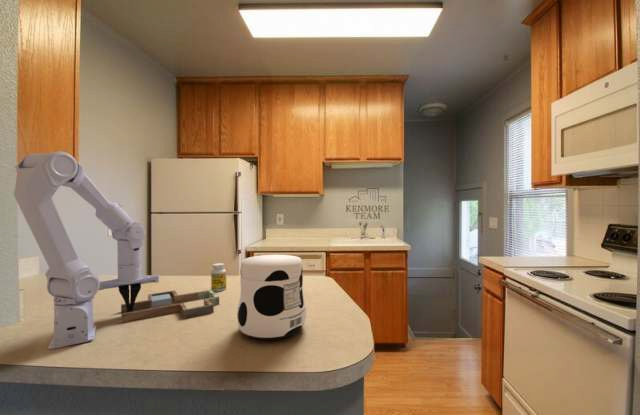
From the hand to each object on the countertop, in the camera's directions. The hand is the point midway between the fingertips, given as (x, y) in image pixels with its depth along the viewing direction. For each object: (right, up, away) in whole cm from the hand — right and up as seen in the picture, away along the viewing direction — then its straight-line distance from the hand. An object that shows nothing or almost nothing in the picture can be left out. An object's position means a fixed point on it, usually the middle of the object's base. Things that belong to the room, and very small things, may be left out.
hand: (130, 310), depth 85 cm
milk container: (+43, -2, -10) cm, 44 cm away
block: (+6, -2, +4) cm, 8 cm away
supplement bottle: (+17, -1, +26) cm, 31 cm away
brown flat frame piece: (+9, -1, +6) cm, 10 cm away
